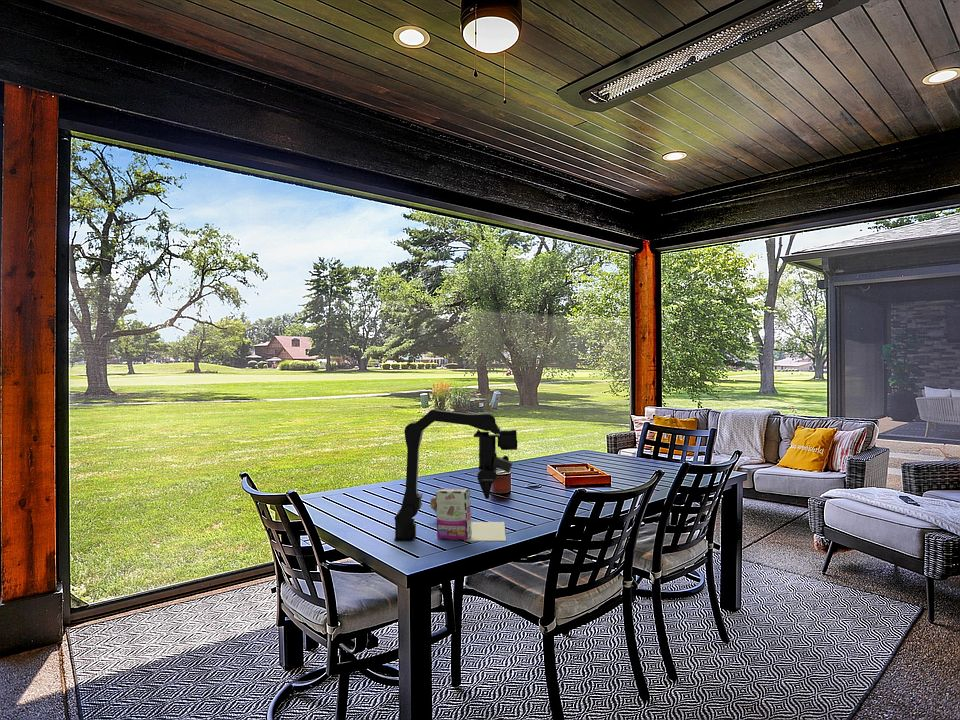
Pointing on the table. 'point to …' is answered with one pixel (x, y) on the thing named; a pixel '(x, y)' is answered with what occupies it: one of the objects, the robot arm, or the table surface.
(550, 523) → the table surface
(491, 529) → the placemat
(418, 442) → the robot arm
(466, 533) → the candy bar box
